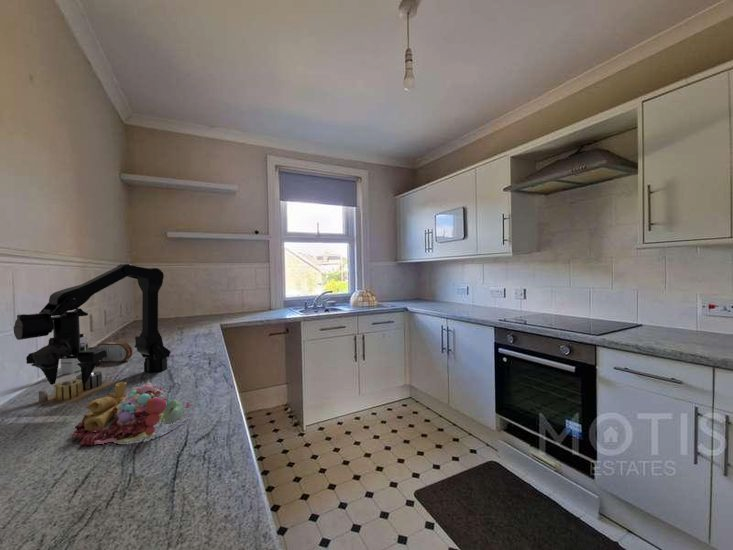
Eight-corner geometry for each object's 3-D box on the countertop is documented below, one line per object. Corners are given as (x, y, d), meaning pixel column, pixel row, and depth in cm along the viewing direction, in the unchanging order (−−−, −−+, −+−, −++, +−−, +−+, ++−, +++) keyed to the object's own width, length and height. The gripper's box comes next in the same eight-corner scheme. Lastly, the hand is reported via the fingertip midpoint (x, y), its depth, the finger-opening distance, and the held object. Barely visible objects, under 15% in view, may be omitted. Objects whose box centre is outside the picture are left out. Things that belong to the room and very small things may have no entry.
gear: (107, 382, 105) (106, 369, 105) (91, 390, 99) (91, 376, 98) (87, 383, 104) (87, 370, 104) (71, 390, 98) (70, 376, 98)
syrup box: (72, 377, 114) (71, 337, 114) (60, 375, 115) (58, 337, 115) (89, 371, 120) (88, 334, 119) (77, 370, 121) (76, 333, 121)
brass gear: (88, 391, 97) (88, 379, 97) (70, 400, 91) (70, 386, 91) (67, 392, 97) (67, 379, 97) (48, 400, 91) (48, 387, 91)
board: (118, 385, 106) (117, 368, 106) (76, 406, 90) (76, 386, 90) (81, 386, 105) (80, 369, 105) (33, 407, 89) (32, 387, 89)
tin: (133, 360, 134) (132, 341, 134) (126, 363, 131) (126, 343, 130) (101, 360, 135) (100, 340, 135) (94, 362, 132) (93, 342, 132)
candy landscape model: (45, 453, 68) (43, 412, 67) (114, 405, 91) (113, 374, 91) (170, 442, 72) (168, 403, 71) (205, 399, 95) (205, 369, 95)
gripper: (4, 339, 85) (6, 395, 85) (75, 338, 86) (77, 393, 86) (44, 331, 96) (46, 380, 97) (107, 329, 97) (108, 379, 98)
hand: (68, 383), depth 94 cm, fingers open, 9 cm apart
